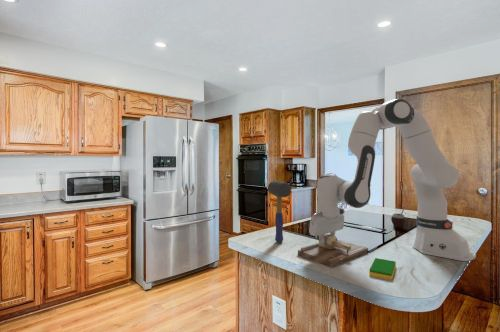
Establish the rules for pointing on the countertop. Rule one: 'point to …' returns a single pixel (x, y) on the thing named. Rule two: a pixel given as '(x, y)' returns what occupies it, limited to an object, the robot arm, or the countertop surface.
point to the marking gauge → (333, 243)
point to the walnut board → (331, 253)
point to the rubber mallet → (279, 205)
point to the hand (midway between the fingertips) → (327, 242)
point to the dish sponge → (382, 268)
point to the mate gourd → (398, 220)
